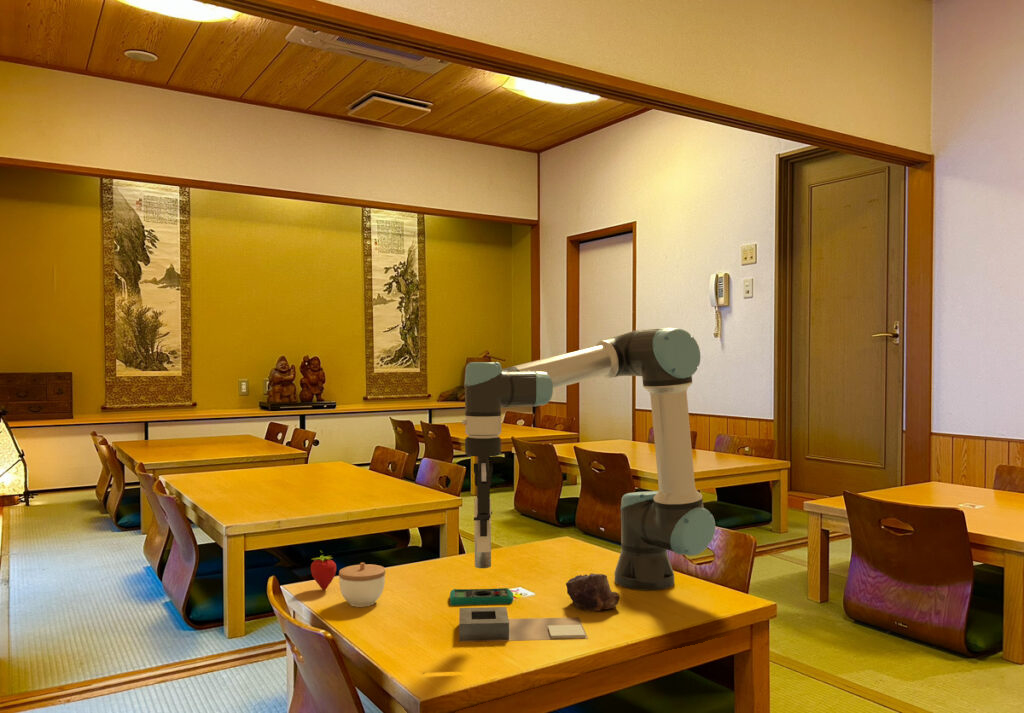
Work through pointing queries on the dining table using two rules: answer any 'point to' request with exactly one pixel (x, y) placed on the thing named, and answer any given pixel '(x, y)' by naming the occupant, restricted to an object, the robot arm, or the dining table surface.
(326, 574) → the strawberry
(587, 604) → the rock
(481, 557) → the silver metal post
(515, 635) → the board
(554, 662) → the dining table surface
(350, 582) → the lidded jar
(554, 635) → the pad
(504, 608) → the block
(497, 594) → the digital multimeter
